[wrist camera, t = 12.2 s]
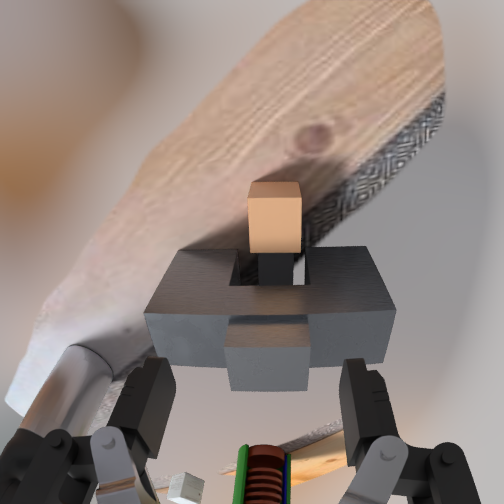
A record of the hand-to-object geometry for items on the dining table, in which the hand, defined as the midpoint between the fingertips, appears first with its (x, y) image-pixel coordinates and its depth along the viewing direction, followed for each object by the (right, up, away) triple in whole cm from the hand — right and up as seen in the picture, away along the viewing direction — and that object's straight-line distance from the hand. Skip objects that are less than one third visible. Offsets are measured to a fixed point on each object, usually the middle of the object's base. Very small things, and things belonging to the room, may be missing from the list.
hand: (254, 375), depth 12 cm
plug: (+2, +4, +22) cm, 23 cm away
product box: (-16, -51, +53) cm, 75 cm away
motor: (+2, -35, +43) cm, 55 cm away
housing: (+2, +3, +23) cm, 23 cm away
